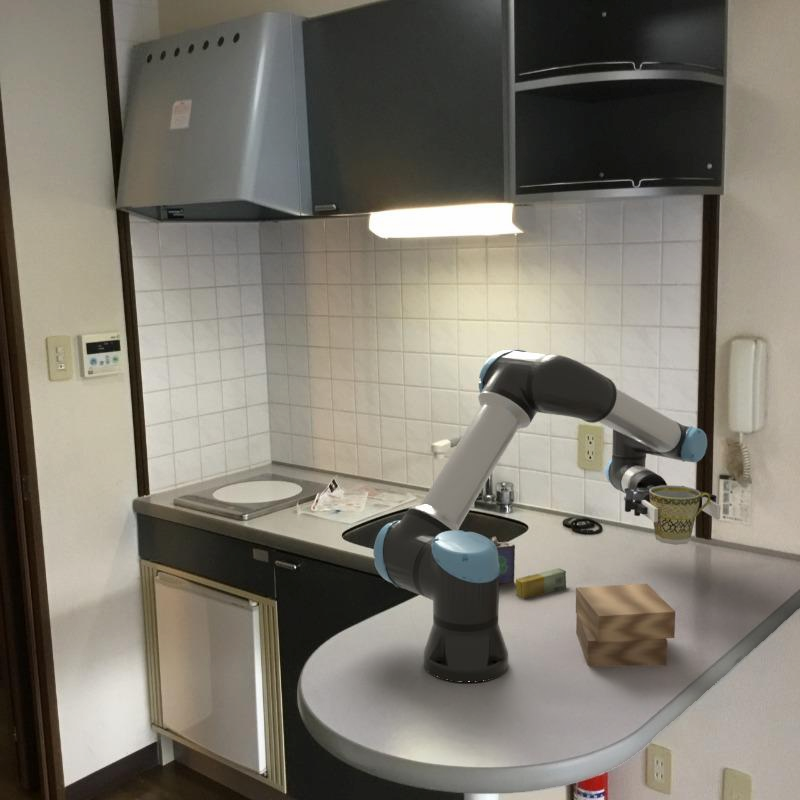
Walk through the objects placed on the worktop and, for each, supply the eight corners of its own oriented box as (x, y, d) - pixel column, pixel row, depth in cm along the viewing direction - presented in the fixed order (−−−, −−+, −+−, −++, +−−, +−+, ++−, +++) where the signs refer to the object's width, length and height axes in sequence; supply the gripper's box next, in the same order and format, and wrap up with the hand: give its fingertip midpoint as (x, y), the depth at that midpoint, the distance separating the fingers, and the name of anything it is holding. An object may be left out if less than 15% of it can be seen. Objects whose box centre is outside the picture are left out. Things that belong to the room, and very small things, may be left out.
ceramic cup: (663, 549, 190) (665, 499, 188) (638, 534, 200) (639, 487, 198) (722, 543, 194) (724, 494, 192) (694, 529, 203) (696, 482, 201)
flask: (477, 589, 212) (477, 542, 210) (472, 585, 215) (472, 538, 213) (516, 584, 215) (516, 537, 213) (510, 579, 217) (511, 533, 216)
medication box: (558, 585, 214) (558, 567, 214) (567, 588, 212) (566, 570, 211) (515, 596, 208) (515, 578, 208) (523, 600, 206) (522, 581, 205)
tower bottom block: (587, 667, 174) (587, 640, 174) (576, 635, 188) (576, 610, 187) (666, 667, 174) (667, 640, 173) (649, 635, 188) (650, 610, 187)
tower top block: (598, 642, 173) (598, 616, 172) (575, 612, 186) (576, 587, 186) (674, 638, 174) (675, 611, 173) (646, 608, 188) (647, 583, 187)
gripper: (696, 500, 216) (744, 529, 195) (590, 506, 213) (627, 535, 192) (698, 468, 215) (746, 492, 194) (591, 472, 212) (628, 498, 191)
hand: (687, 513), depth 193 cm, fingers closed on ceramic cup, 12 cm apart
